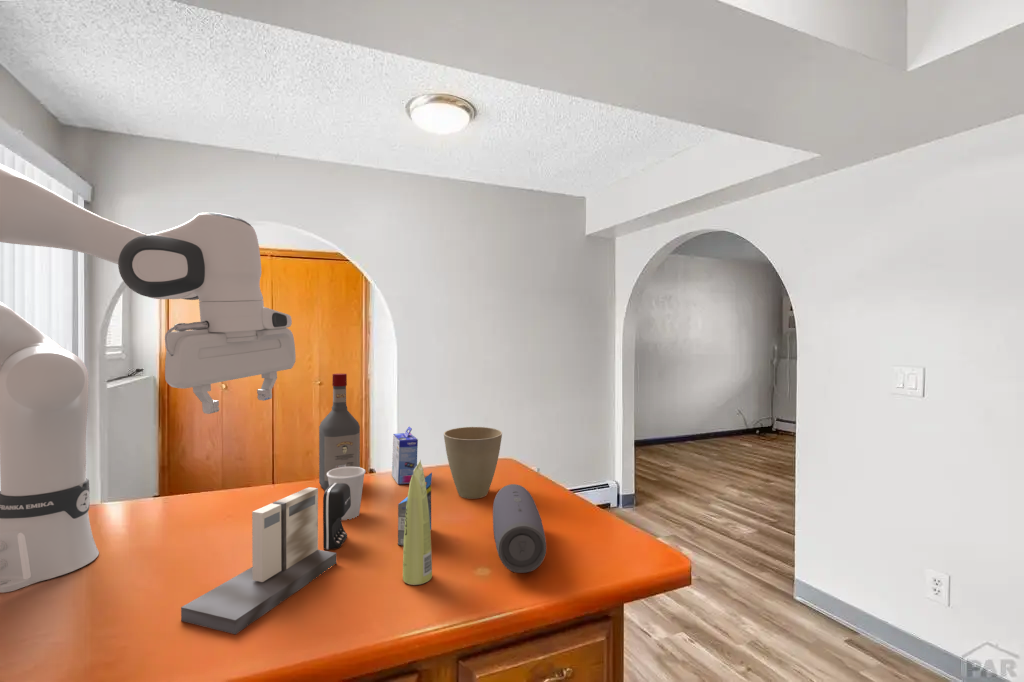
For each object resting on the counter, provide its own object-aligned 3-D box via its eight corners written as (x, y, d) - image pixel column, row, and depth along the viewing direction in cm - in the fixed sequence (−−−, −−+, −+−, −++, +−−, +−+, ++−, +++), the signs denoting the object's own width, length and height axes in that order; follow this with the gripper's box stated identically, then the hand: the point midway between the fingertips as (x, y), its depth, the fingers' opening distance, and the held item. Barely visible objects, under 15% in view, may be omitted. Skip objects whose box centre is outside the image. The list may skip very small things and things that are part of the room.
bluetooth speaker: (549, 580, 86) (550, 522, 86) (495, 581, 85) (495, 523, 85) (534, 527, 109) (535, 481, 108) (491, 527, 108) (491, 481, 108)
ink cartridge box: (418, 483, 138) (418, 430, 137) (398, 485, 136) (398, 432, 135) (410, 473, 147) (410, 424, 146) (391, 475, 145) (391, 425, 144)
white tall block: (262, 582, 80) (262, 513, 79) (252, 580, 80) (251, 511, 80) (281, 570, 83) (281, 504, 83) (271, 568, 84) (271, 503, 84)
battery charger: (342, 551, 96) (342, 491, 96) (322, 551, 96) (322, 491, 96) (352, 535, 103) (352, 480, 103) (333, 536, 103) (333, 480, 102)
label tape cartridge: (414, 528, 107) (415, 470, 107) (432, 529, 107) (432, 471, 106) (397, 545, 99) (397, 483, 98) (415, 547, 98) (416, 484, 98)
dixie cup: (370, 517, 113) (370, 473, 113) (332, 525, 108) (332, 479, 108) (358, 506, 120) (358, 464, 120) (322, 513, 115) (322, 469, 115)
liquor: (362, 487, 134) (362, 374, 133) (326, 493, 128) (326, 376, 128) (351, 478, 141) (351, 372, 140) (317, 484, 136) (317, 373, 135)
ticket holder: (235, 634, 70) (234, 539, 70) (181, 620, 73) (180, 529, 73) (336, 563, 91) (336, 490, 90) (291, 555, 94) (290, 484, 94)
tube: (394, 576, 86) (395, 463, 86) (420, 567, 90) (420, 458, 89) (412, 589, 82) (413, 471, 82) (438, 579, 86) (439, 465, 85)
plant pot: (444, 485, 136) (444, 427, 135) (499, 484, 137) (499, 426, 137) (442, 505, 121) (442, 439, 121) (504, 503, 123) (504, 438, 122)
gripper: (178, 324, 68) (186, 424, 70) (299, 315, 87) (303, 394, 88) (150, 323, 71) (159, 419, 73) (273, 315, 90) (278, 391, 91)
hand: (239, 405), depth 81 cm, fingers open, 8 cm apart
